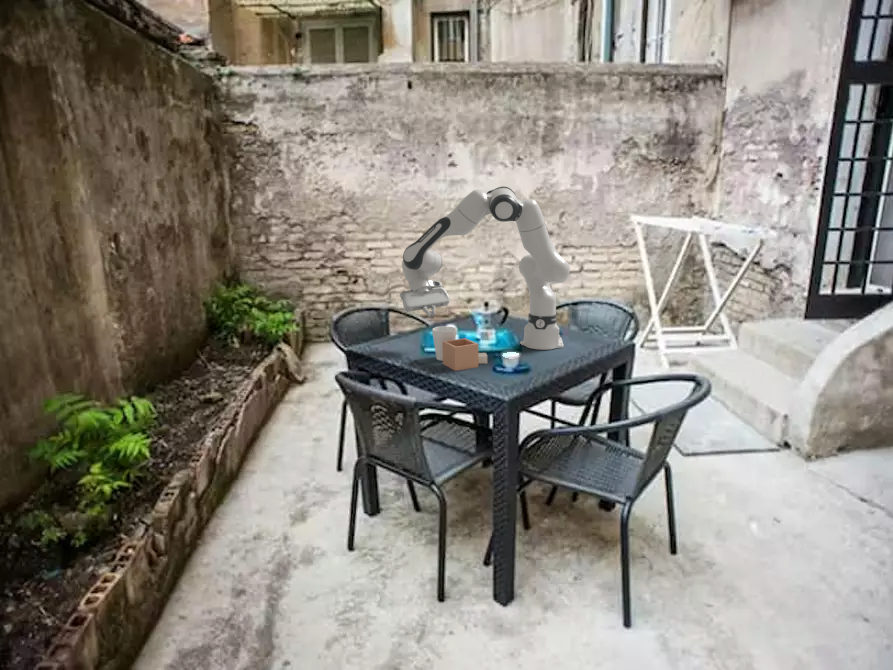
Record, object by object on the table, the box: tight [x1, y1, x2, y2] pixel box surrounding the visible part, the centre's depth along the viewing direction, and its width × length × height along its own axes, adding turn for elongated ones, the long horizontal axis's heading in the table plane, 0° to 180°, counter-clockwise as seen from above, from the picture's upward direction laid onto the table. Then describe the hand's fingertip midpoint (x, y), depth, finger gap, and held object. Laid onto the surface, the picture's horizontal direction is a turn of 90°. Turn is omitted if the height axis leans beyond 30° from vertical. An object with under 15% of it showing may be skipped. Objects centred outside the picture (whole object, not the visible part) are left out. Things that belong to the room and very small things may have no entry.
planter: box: [442, 337, 479, 372], centre depth 227 cm, size 10×10×10 cm
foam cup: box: [432, 325, 458, 362], centre depth 236 cm, size 10×9×13 cm
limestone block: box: [478, 352, 488, 365], centre depth 232 cm, size 5×5×4 cm
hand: (432, 315), depth 246 cm, fingers closed
